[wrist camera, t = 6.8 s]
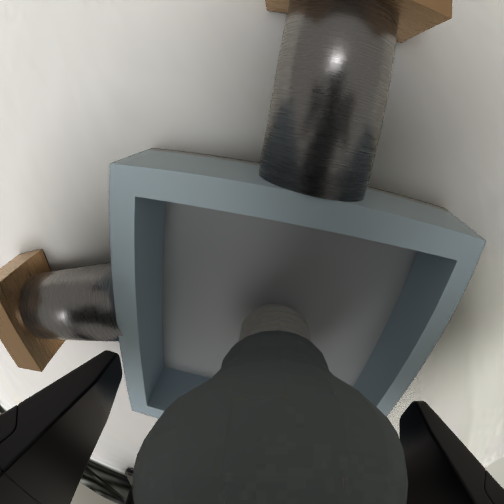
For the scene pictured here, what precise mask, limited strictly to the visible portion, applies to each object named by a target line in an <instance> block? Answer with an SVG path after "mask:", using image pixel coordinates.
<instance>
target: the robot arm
mask: <svg viewBox="0 0 504 504" xmlns="http://www.w3.org/2000/svg"><path fill="white" fill-rule="evenodd" d="M121 378H122V367H121V362H120V357H119V355H118V354H117V353H114V352H111V351H104V352H102V353H100V354H99V355H97V356H96V357H94V358H92V359H91V360H89V361H88V362H86V363H84V364H83V365H81V366H79V367H78V368H76V369H75V370H73V371H71V372H70V373H68V374H67V375H65V376H63V377H62V378H60V379H58V380H57V381H55V382H54V383H52V384H50V385H49V386H47V387H45V388H44V389H42V390H41V391H39V392H37V393H36V394H34V395H32V396H31V397H29V398H28V399H26V400H24V401H23V402H21V403H19V404H18V406H17V405H16V406H14V407H13V408H11V409H9V410H8V411H6V412H4V413H2V414H1V415H0V504H70V503H71V501H72V498H73V496H74V493H75V491H76V488H77V486H78V484H79V482H80V479H81V477H82V475H83V472H84V470H85V468H86V466H87V463H88V461H89V459H90V457H91V454H92V452H93V450H94V448H95V446H96V443H97V441H98V439H99V437H100V435H101V433H102V430H103V428H104V426H105V424H106V422H107V419H108V417H109V414H110V411H111V408H112V405H113V402H114V399H115V396H116V393H117V390H118V387H119V384H120V381H121ZM399 424H400V442H401V444H402V447H403V450H404V456H405V462H406V469H407V477H408V492H407V502H406V504H504V489H503V488H502V487H501V486H500V485H499V484H498V483H497V481H495V480H494V478H493V477H492V476H491V475H490V474H489V473H488V471H485V468H484V467H483V466H482V465H481V463H480V462H479V461H478V460H477V459H476V458H475V457H474V455H473V454H472V453H471V452H470V451H469V450H468V449H467V447H466V446H465V445H464V444H463V443H462V442H461V441H460V440H459V438H458V437H457V436H456V435H455V434H454V433H453V432H452V431H451V430H450V428H449V427H448V426H447V425H446V424H445V423H444V422H443V421H442V420H441V418H440V417H439V416H438V415H437V414H436V413H435V412H434V411H433V410H432V409H431V407H430V406H429V405H428V404H427V403H426V402H424V401H413V402H412V403H411V404H410V405H409V407H408V408H407V409H406V410H405V412H404V413H403V414H402V416H401V418H400V423H399ZM125 474H126V476H127V478H128V480H129V482H130V484H131V488H130V491H129V494H128V497H127V500H126V503H125V504H134V499H133V493H132V490H133V470H131V469H126V471H125Z"/></svg>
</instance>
